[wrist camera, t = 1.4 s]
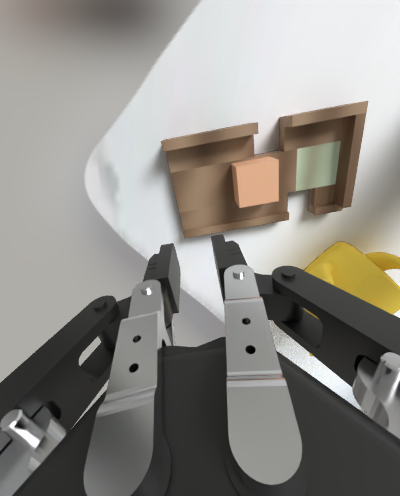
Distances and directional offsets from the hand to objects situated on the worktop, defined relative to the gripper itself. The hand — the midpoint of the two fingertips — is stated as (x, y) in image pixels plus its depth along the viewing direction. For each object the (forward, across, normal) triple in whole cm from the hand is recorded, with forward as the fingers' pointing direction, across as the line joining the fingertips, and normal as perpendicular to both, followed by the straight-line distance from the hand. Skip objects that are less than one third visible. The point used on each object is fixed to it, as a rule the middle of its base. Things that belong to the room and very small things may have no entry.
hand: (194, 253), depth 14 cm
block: (+16, -8, 0) cm, 17 cm away
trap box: (+17, -8, 0) cm, 19 cm away
